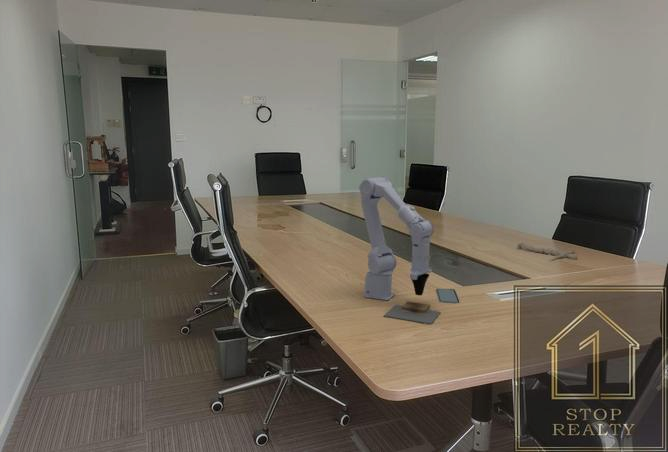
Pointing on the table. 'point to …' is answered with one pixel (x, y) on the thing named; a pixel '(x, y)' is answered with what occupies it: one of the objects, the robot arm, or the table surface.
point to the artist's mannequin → (549, 251)
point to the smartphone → (447, 296)
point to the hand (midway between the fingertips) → (418, 294)
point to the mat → (412, 315)
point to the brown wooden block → (416, 307)
